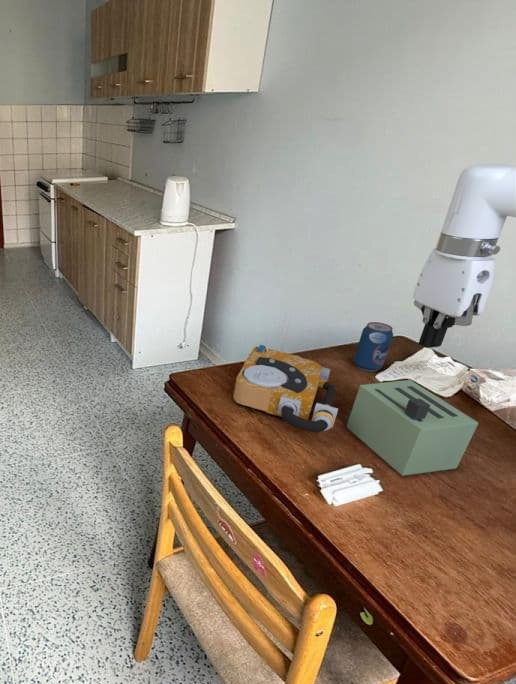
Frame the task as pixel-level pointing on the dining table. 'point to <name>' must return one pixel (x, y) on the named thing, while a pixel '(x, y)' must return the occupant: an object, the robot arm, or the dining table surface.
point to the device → (286, 388)
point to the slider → (417, 409)
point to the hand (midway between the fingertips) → (429, 345)
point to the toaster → (410, 428)
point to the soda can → (373, 346)
